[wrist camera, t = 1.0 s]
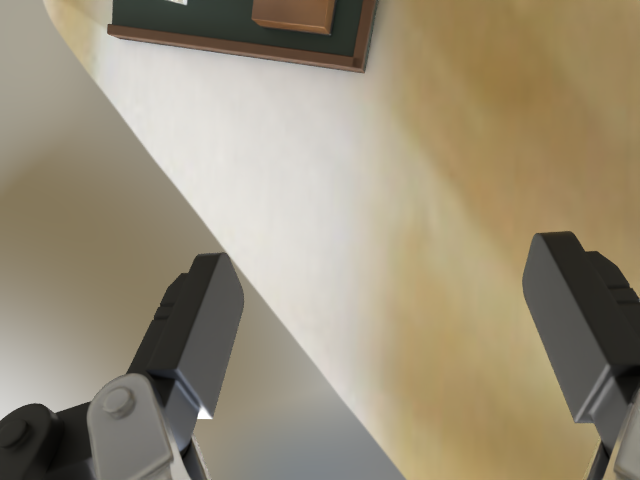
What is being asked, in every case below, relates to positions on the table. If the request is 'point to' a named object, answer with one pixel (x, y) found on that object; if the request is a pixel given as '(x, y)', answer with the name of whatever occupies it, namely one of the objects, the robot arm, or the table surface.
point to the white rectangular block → (180, 1)
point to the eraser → (296, 15)
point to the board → (247, 31)
